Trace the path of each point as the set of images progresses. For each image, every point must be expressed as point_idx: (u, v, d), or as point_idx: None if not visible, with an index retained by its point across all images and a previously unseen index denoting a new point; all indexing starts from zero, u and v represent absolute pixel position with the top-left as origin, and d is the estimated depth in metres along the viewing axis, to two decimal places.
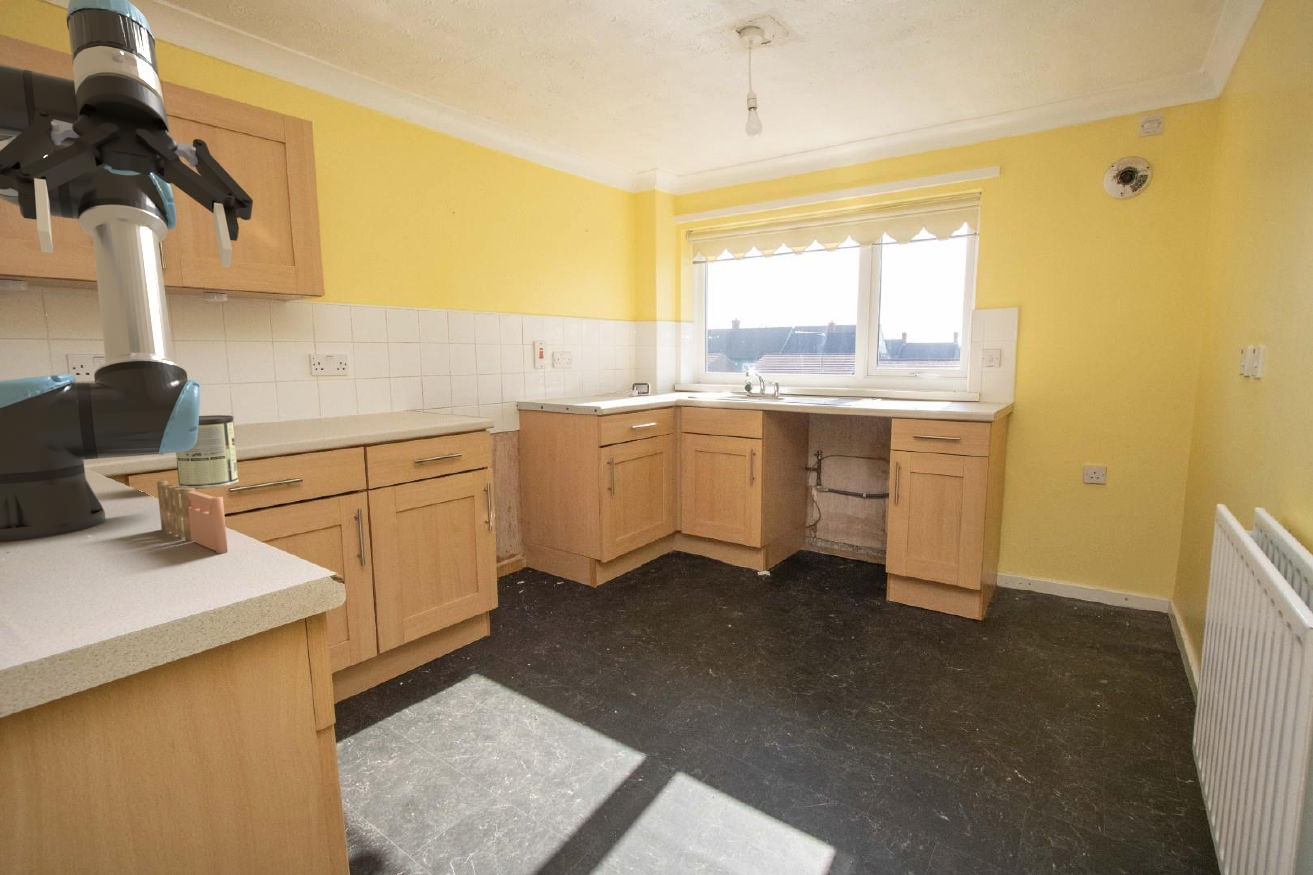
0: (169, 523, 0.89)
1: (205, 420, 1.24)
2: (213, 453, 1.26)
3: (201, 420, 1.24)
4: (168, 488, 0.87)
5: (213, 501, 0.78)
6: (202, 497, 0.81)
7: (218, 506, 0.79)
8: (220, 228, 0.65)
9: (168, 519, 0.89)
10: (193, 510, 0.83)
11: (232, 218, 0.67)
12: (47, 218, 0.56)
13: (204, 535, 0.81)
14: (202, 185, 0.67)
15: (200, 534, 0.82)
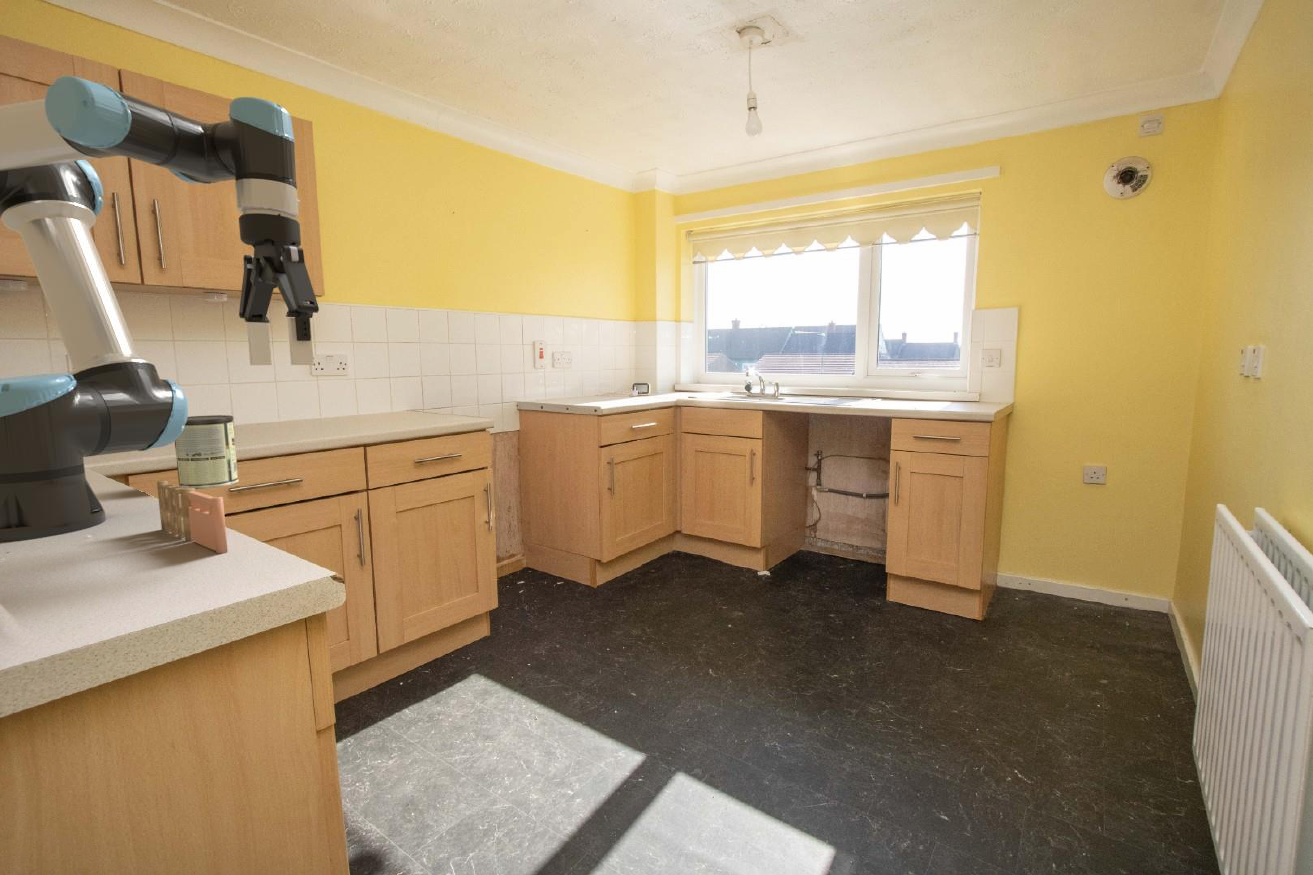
0: (169, 523, 0.89)
1: (205, 420, 1.24)
2: (213, 453, 1.26)
3: (201, 420, 1.24)
4: (168, 488, 0.87)
5: (213, 501, 0.78)
6: (202, 497, 0.81)
7: (218, 506, 0.79)
8: (269, 346, 0.97)
9: (168, 519, 0.89)
10: (193, 510, 0.83)
11: None
12: None
13: (204, 535, 0.81)
14: None
15: (200, 534, 0.82)
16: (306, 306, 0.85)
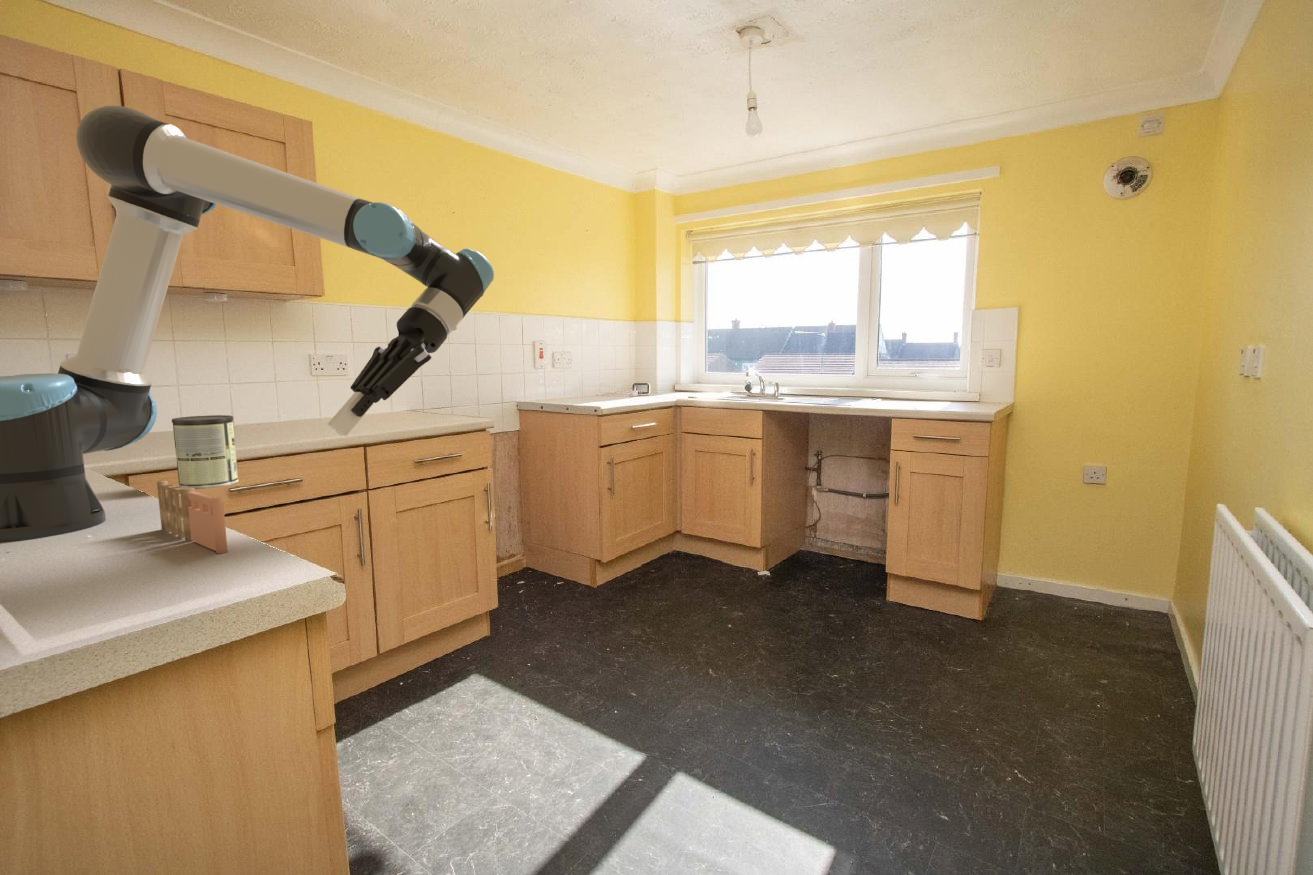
0: (169, 523, 0.89)
1: (205, 420, 1.24)
2: (213, 453, 1.26)
3: (201, 420, 1.24)
4: (168, 488, 0.87)
5: (213, 501, 0.78)
6: (202, 497, 0.81)
7: (218, 506, 0.79)
8: None
9: (168, 519, 0.89)
10: (193, 510, 0.83)
11: None
12: None
13: (204, 535, 0.81)
14: None
15: (200, 534, 0.82)
16: (380, 391, 0.94)
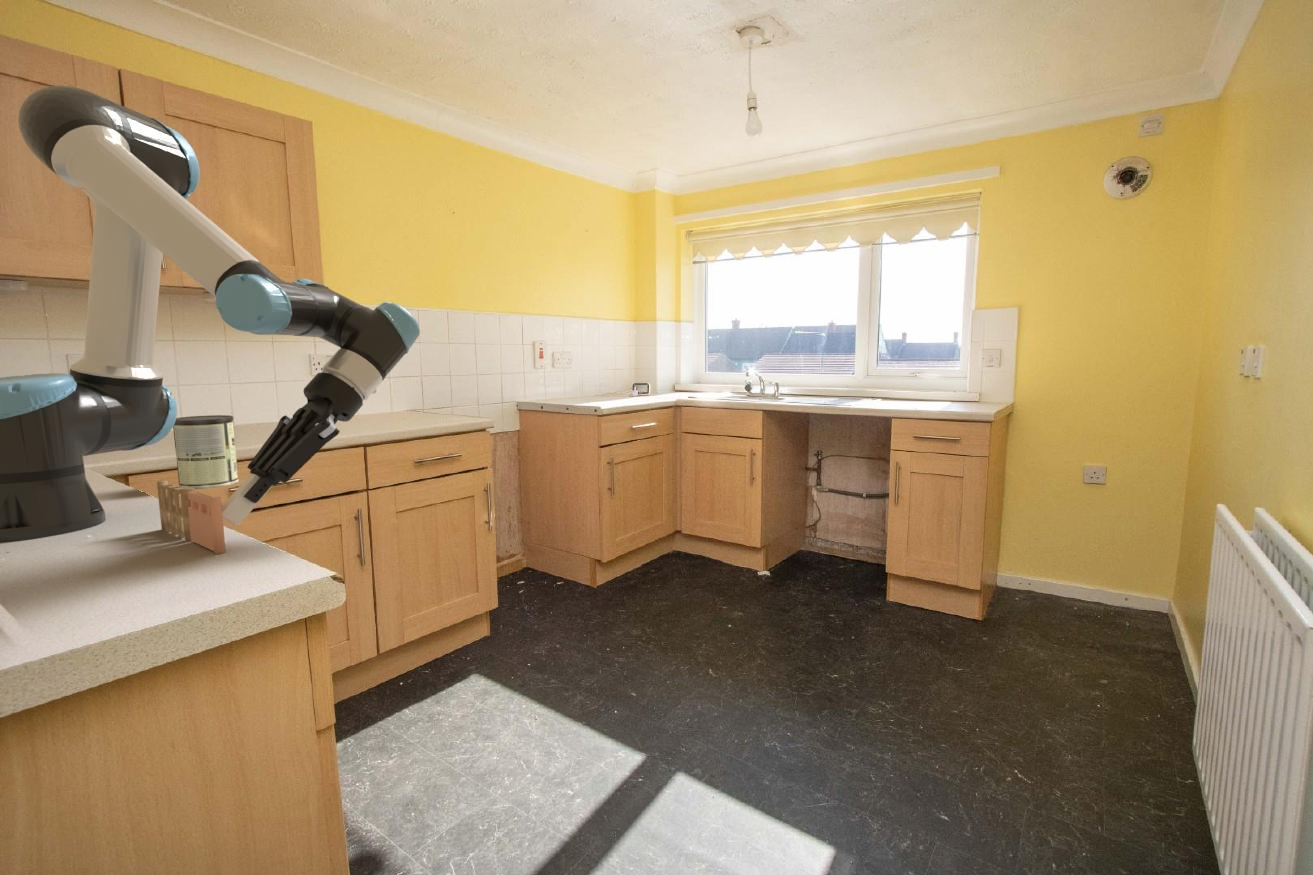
0: (169, 523, 0.89)
1: (205, 420, 1.24)
2: (213, 453, 1.26)
3: (201, 420, 1.24)
4: (168, 488, 0.87)
5: (211, 501, 0.78)
6: (201, 497, 0.81)
7: (216, 506, 0.78)
8: None
9: (168, 519, 0.89)
10: (192, 510, 0.83)
11: None
12: None
13: (203, 535, 0.81)
14: None
15: (199, 534, 0.82)
16: (277, 474, 0.83)
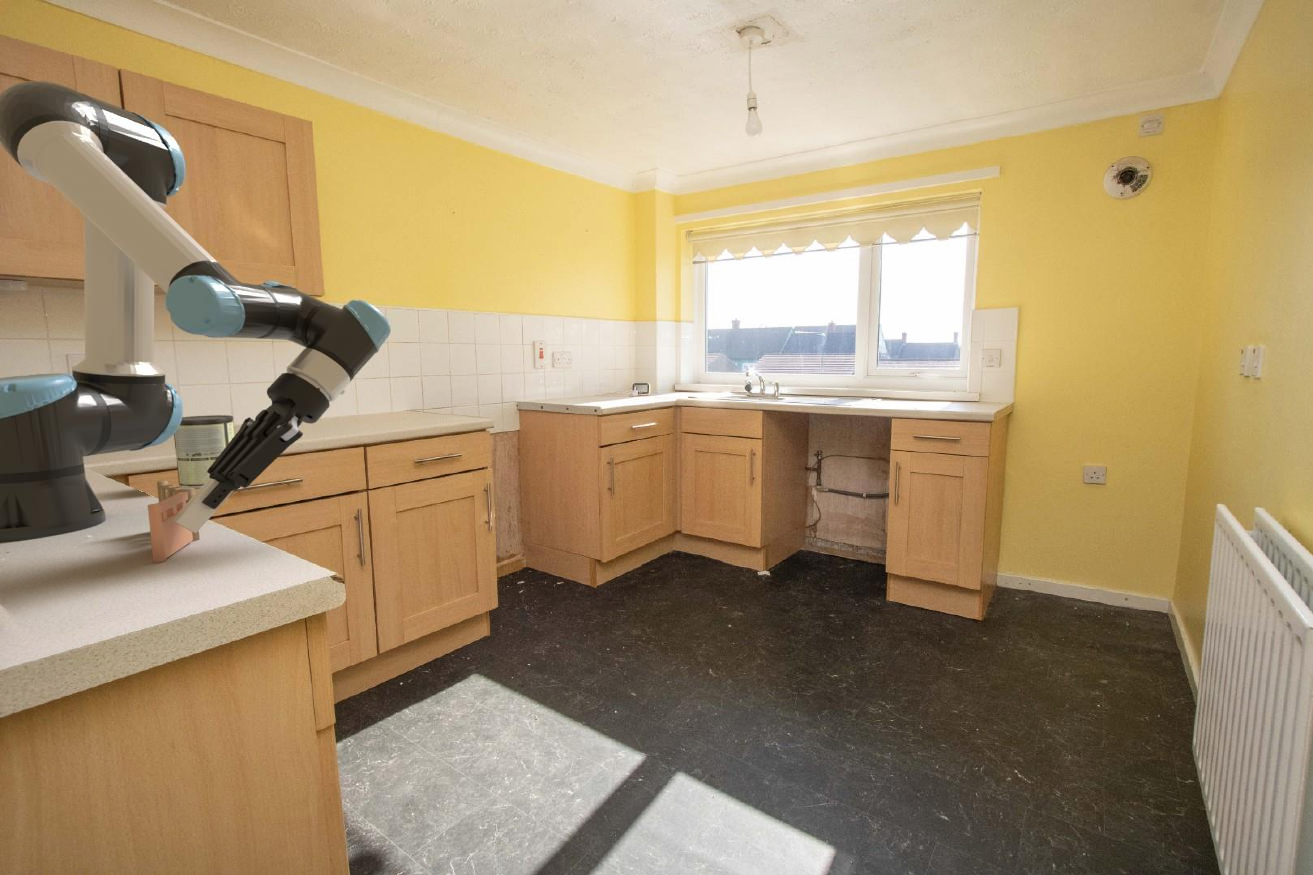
0: None
1: (205, 420, 1.24)
2: (213, 452, 1.26)
3: (201, 420, 1.24)
4: (168, 488, 0.87)
5: (148, 508, 0.75)
6: None
7: (151, 513, 0.75)
8: None
9: None
10: None
11: None
12: None
13: None
14: None
15: None
16: (237, 479, 0.80)
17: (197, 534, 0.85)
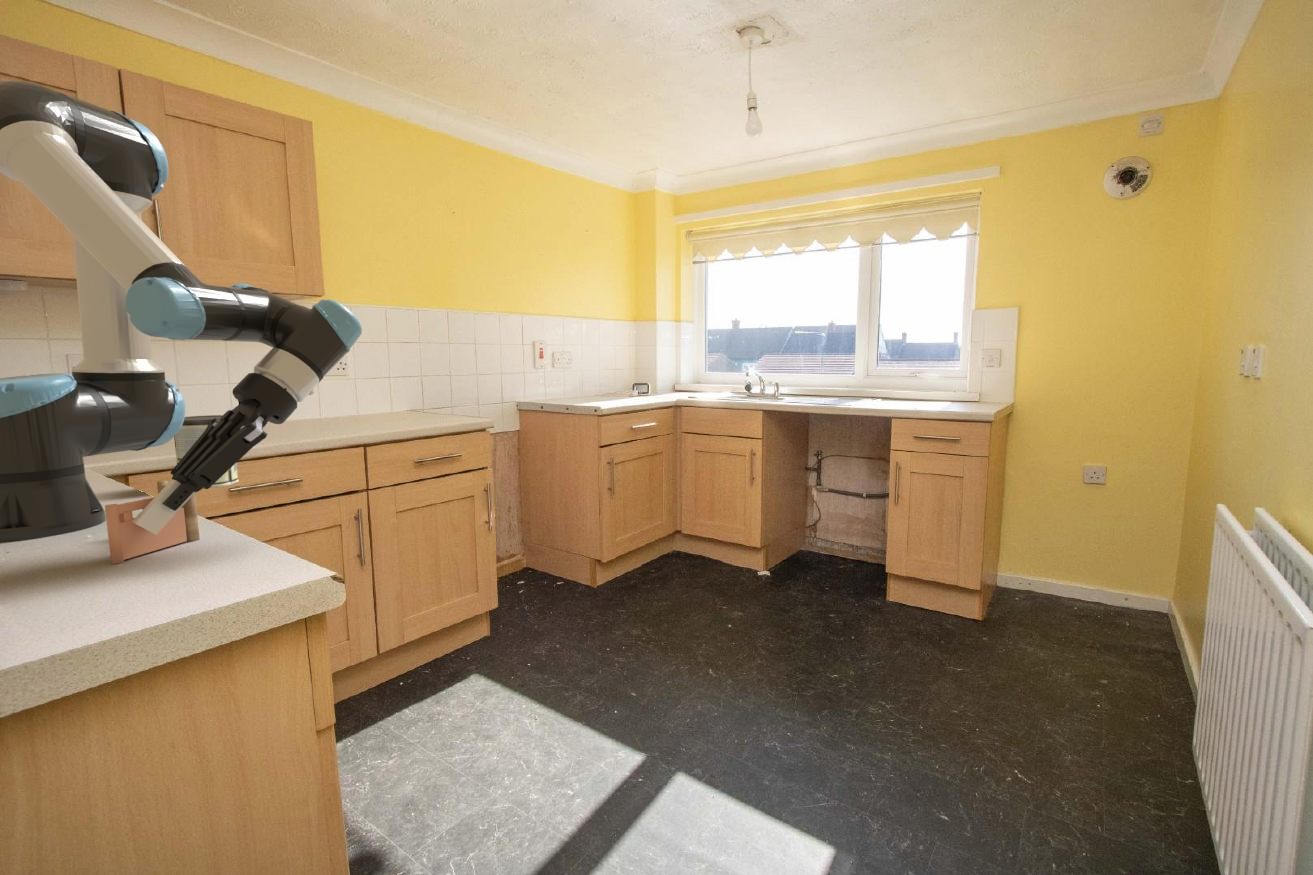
0: None
1: (205, 420, 1.24)
2: None
3: (201, 420, 1.24)
4: None
5: None
6: None
7: (106, 514, 0.75)
8: None
9: None
10: None
11: None
12: None
13: None
14: None
15: None
16: (198, 480, 0.79)
17: (197, 534, 0.85)
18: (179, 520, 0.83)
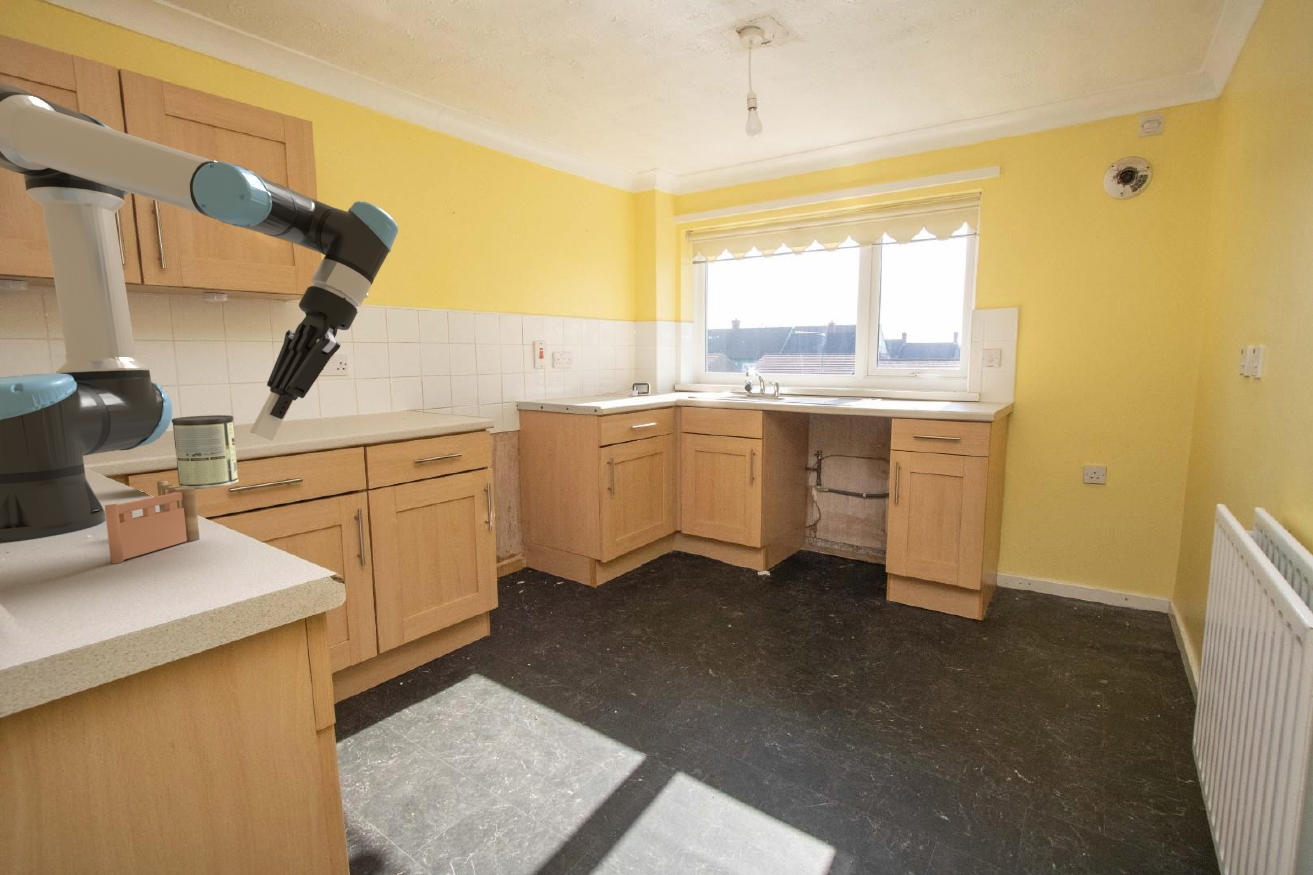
0: None
1: (205, 420, 1.24)
2: (213, 453, 1.26)
3: (201, 420, 1.24)
4: (168, 488, 0.87)
5: None
6: None
7: (106, 514, 0.75)
8: None
9: None
10: None
11: None
12: None
13: None
14: None
15: None
16: (294, 391, 0.90)
17: (197, 534, 0.85)
18: (179, 520, 0.83)
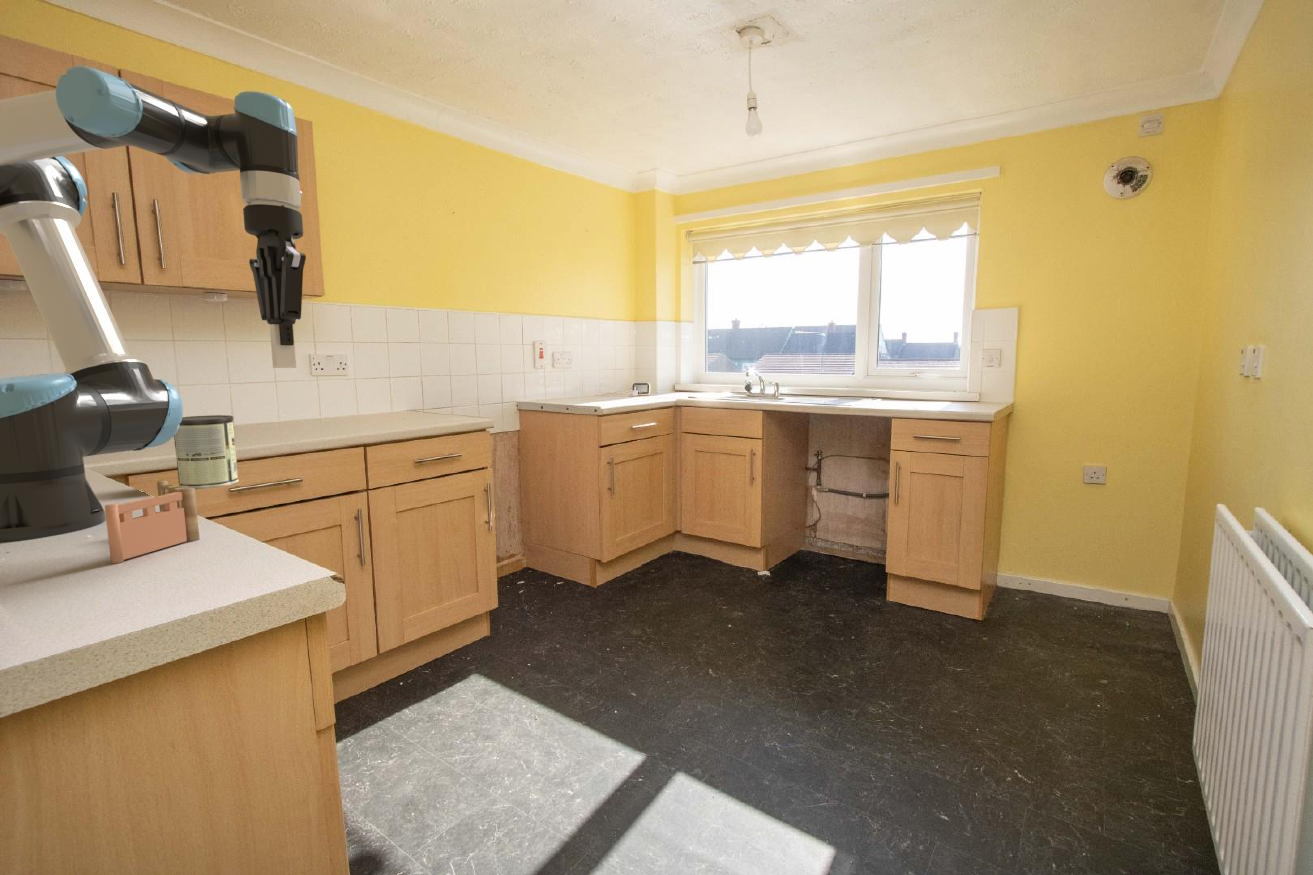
0: None
1: (205, 420, 1.24)
2: (213, 453, 1.26)
3: (201, 420, 1.24)
4: (168, 488, 0.87)
5: None
6: None
7: (106, 514, 0.75)
8: None
9: None
10: None
11: None
12: None
13: None
14: None
15: None
16: (289, 316, 0.92)
17: (197, 534, 0.85)
18: (179, 520, 0.83)
